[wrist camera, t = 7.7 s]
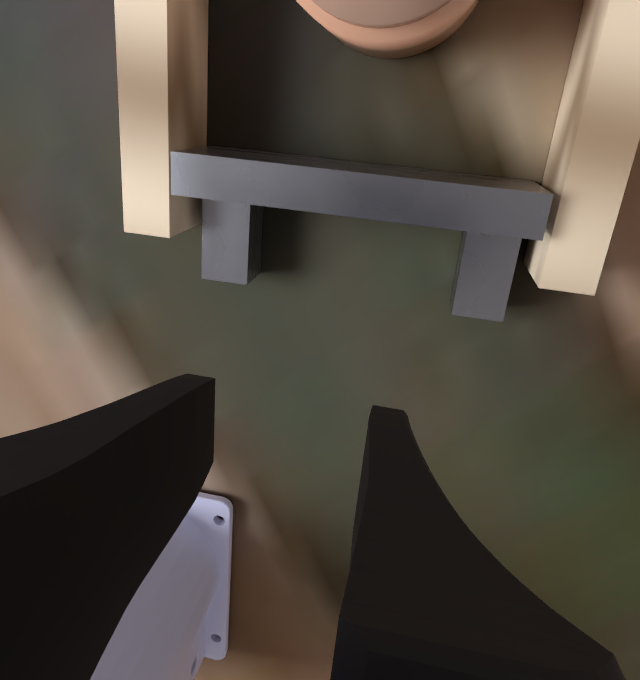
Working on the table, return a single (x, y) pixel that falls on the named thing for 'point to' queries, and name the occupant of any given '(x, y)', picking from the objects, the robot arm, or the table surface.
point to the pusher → (362, 211)
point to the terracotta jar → (390, 23)
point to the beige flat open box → (560, 173)
